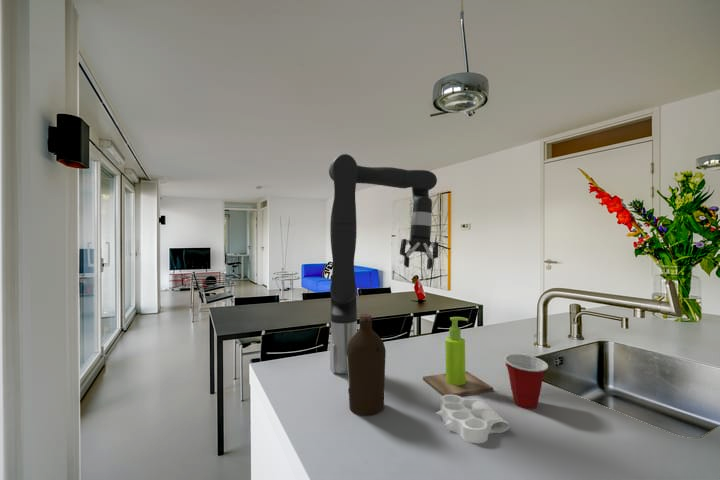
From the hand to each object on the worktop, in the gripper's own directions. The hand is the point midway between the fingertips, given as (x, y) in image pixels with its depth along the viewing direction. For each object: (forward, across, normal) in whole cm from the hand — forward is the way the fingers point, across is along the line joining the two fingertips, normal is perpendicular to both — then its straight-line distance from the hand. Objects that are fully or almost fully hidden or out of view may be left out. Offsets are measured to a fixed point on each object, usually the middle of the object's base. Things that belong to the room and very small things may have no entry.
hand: (417, 268), depth 127 cm
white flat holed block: (+37, +1, -41) cm, 55 cm away
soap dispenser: (+34, +8, -21) cm, 41 cm away
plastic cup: (+34, +21, -36) cm, 54 cm away
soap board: (+35, +8, -21) cm, 41 cm away
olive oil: (+38, -22, -29) cm, 53 cm away
